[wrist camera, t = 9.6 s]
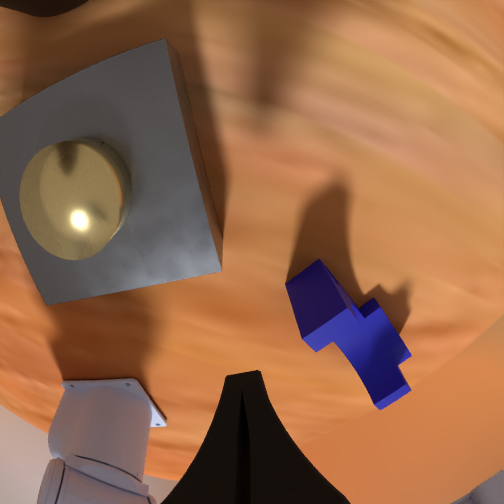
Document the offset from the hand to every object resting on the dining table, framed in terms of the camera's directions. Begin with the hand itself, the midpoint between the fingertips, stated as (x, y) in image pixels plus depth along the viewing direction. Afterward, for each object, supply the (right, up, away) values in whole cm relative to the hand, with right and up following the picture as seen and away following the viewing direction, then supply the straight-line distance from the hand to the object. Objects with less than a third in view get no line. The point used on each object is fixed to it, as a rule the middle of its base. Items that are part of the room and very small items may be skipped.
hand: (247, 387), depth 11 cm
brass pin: (-9, +10, +5) cm, 14 cm away
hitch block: (-9, +10, +5) cm, 14 cm away
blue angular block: (+8, +1, +12) cm, 14 cm away
